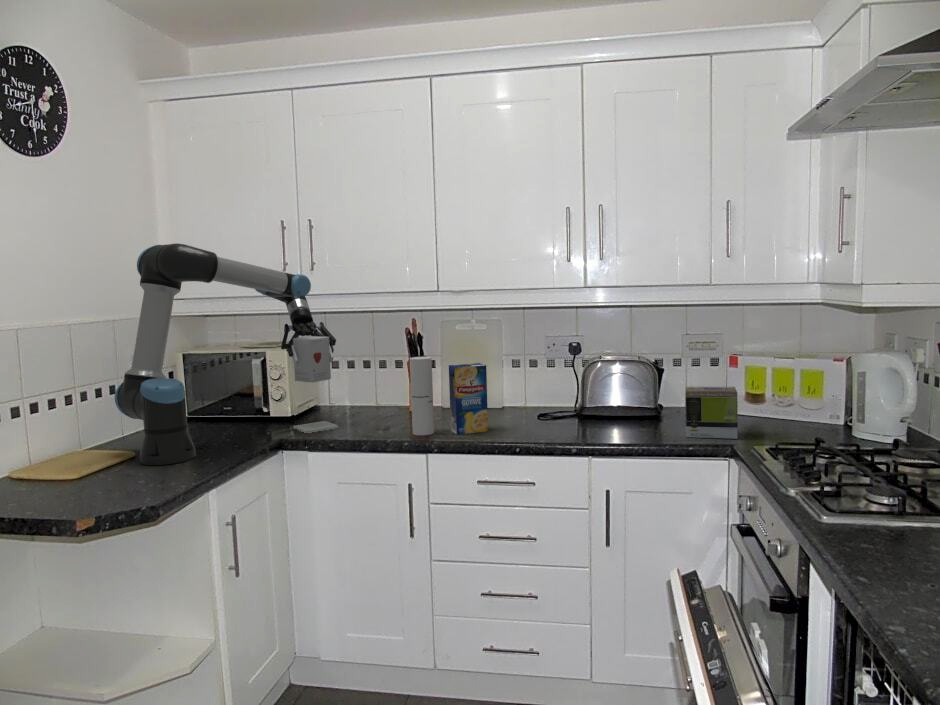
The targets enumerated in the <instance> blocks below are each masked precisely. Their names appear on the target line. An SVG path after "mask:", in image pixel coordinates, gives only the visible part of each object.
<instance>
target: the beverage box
mask: <svg viewBox="0 0 940 705" xmlns="http://www.w3.org/2000/svg"><path fill="white" fill-rule="evenodd" d="M487 379H488V378H487V364H483V363H480V362H474V363H462V364H461V363H460V364H449V365H448V381H449V382H448V387H449V415H450V416H449V417H450V431H452V432H453V433H454V434H455V435H465V434H473V433H474V434H475V433H484V432H489V420H488V419H489V415H488V411H489V410H488V380H487Z"/></svg>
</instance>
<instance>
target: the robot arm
mask: <svg viewBox="0 0 940 705" xmlns="http://www.w3.org/2000/svg"><path fill="white" fill-rule="evenodd" d="M136 270H137V273H138V274H139V275H140V280H139V286H140V287H141V289H142V290H143V297H142V303H141V308H140V313H139V314H140V315H139V320H138V326H137V332H136V339H135V346H134V349H133V350H134V351H133V357H132V362H131V367H130V369H128V370H127V371H125V372H124V375H123V376H124V377H123V382H122V383H121V384H120V385H118V387H117V388H116V390H115V393H114V404H115V405H116V408H117V409H118V411H119V412H120V413H121V414H123V415H125V416H126V417H128V418H130V419H134V420H140V421H142V422H143V435H144V436H143V441H142V444H141V448H140V451H139V463H140V464H142V465H145V466H146V465H147V466H163V465H166V466H167V465H172V464H177V463H179V464H180V463H183V462H186V461H189V460H192V459H194V458H195V457H196V456H197V454H196V446H195V444H194V442H193V440H192V437H191V435H190V433H189V430H188V417H187V416H188V415H187V404H186V396H187V395H186V391H185V386H184V383H183V382H182V381H181V380H179V379H176V378H170V377H169V378H167V376H166V375H165V374H164V372H163V366H164V360H165V354H166V349H167V348H166V347H167V343H168V336H169V330H170V324H171V317H172V311H173V306H174V299H175V296H176V295H177V294H179V293H180V292H181V289H182V283H184V282H199V283H200V282H202V283H205V284H206V283H207V284H210V283H212V282H217V283H221V284H222V283H223V284H227V285H232V286H238V287H242V288H247V289H254V290H255V292H258V293H259V294H262V295H263V296H266V297H268V298H272V299H275V300H277V301H280V302H283V303H285V305H286V308H287V312H288V315H289V319H290V323H291V325H289V324H288V323H285V324H284V327H283V331H284V334H283V338H282V341H281V346H280V348H281V350H286V352H287V354H288V356H289V357H290V358H292V362H293V365H297V362H298V359H297V356H296V352H295V348H294V346H293V338H300V336H301V337H309V336H319V337H329V346H330V363H333V361H334V351H335V349H334V346H336V343H337V339H336V338H335V336H333V334H332V333H331V332H330V331H329V330H328V329H327V328H326V326H325V323H324V322H322V321H320V322H319V323H315V322H314V319H313V316H312V312H311V309H310V306H309V303H308V300H307V297H305V296H307V295H308V294H309V293H310V292H311V288H312V284H311V280H310V279H309V277H308V276H306V275H304V274H300V273H296V274H293V273H288V272H283V271H279V270H275V269H272V268H266V267H262V266H258V265H254V264H250V263H245V262H242V261H238V260H237V261H236V260H233V259H229V258H224V257H220V256H218V255H217V253H216V252H214V251H213V252H212V251H210V250H205V249H202V248H198V247H196V246H192V245H188V244H184V243H170V244H169V243H168V244H156V245H153V246H149V247H148V248H145V249H144V250H143V251H142V252H140V254H139V256H138V258H137V261H136ZM291 331H293V332H294V333H293V335H292V336H291V338H290V340H289V341H288V337H289V333H290V332H291ZM287 341H288V343H287Z"/></svg>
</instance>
